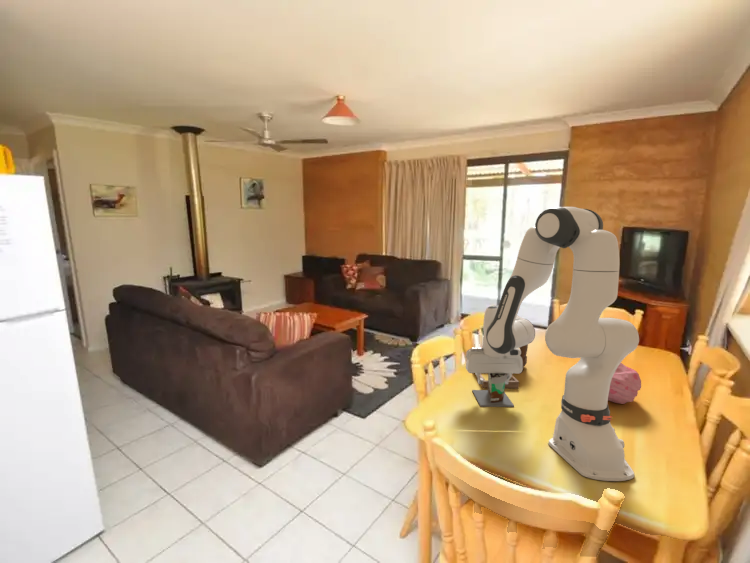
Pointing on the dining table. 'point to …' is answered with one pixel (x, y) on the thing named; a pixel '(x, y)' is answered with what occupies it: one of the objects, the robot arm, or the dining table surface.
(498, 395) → the food container
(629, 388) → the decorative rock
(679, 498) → the dining table surface
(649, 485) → the dining table surface
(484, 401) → the mat
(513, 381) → the brown wooden frame
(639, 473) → the dining table surface
